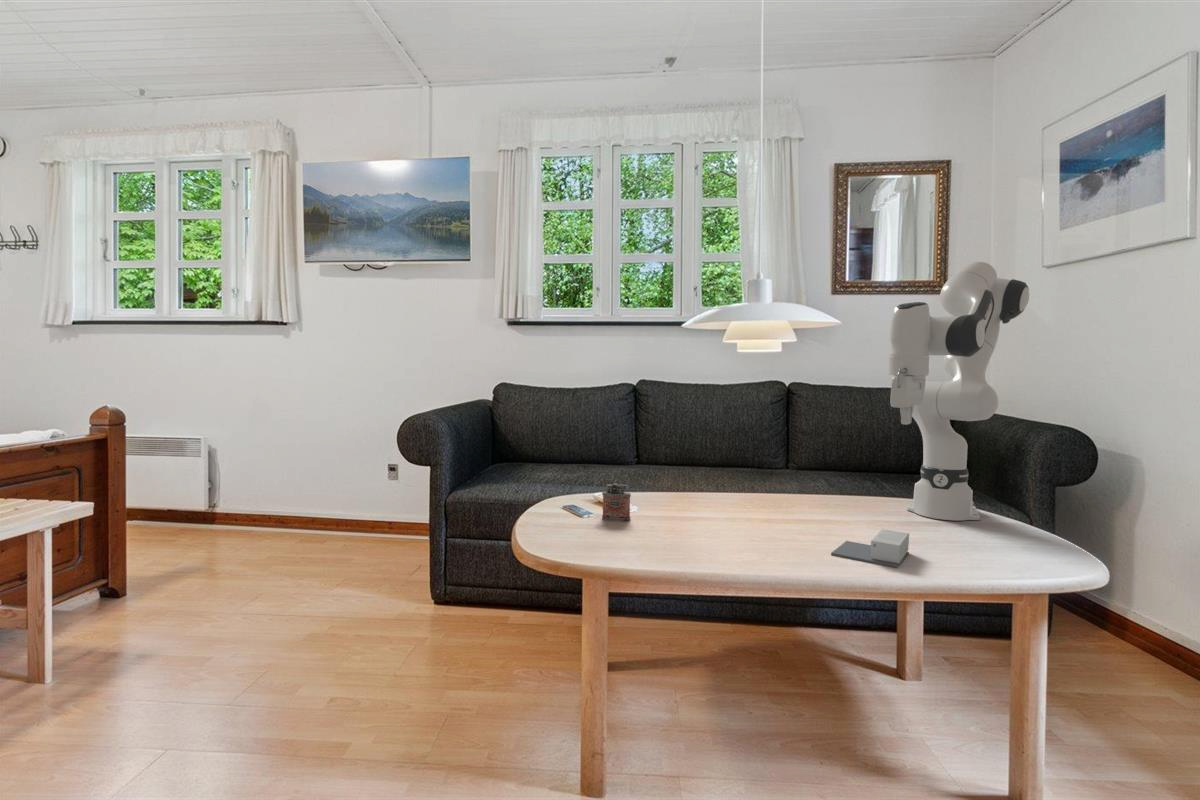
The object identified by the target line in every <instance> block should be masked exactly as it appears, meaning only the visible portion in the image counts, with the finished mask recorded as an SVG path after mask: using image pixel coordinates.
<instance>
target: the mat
mask: <svg viewBox="0 0 1200 800" xmlns="http://www.w3.org/2000/svg"><path fill="white" fill-rule="evenodd" d="M830 555H831V556H834V555H835V557H839V556H840V558H844V557H845V559H849V558H850V559H851V560H854V559H855V561H859V562H864V561H865V563H869V562H870V564H875V565H880V564H881V566H885V565H886V567H890V566H891V568H896V569H898V568H899V567H900V565H901V564H903V563H904V561H905V560H906V558H907V557H908V556H909V555H910V551H907V553H906V554H905V556H904V557H903V559H902V560H901V562H900V563H899V564H898V563H893V562H887V561H881V560H875V559H871V544H867V543H860V542H854V541H849V540H845V542H843V543H842V544H840V545H839V546H838V547H837V548H835V549H834V550H833V551H832V552H831V553H830ZM904 559H905V560H904ZM898 566H899V567H898Z"/></svg>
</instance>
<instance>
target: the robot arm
mask: <svg viewBox="0 0 1200 800" xmlns="http://www.w3.org/2000/svg"><path fill="white" fill-rule="evenodd" d="M939 300H940V304H941V306H942V307H943V309H944V310H945V311H946V312H947V313H948V314H949V315H951V316H934V317H933V316H932V315H931V313H930V307H929V303H926V302H923V301H922V302H921V301H917V302H916V301H915V302H907V303H901V304H897V306H895V307H894V308H893V311H892V316H891V321H890V333H889V340H890V341H889V342H890V345H891V346H890V347H891V348H890V352H889V358H888V359H889V360H888V375H890V376H893V377H892V379H891V386H890V397H889V399H890V400H889V401H890V407H891V408H899V413H900V423H901V425H906V426H907V425H910V424H912V418H913V420H914V421H915V422H916V424H917V426H918V428H919V431H920V433H921V434H920V435H921V437H922V438H921V439H922V445H923V446H922V449H923V451H922V454H923V455H922V456H923V457H922V458H923V459H922V464H921V467H920V477H921V478H920V480H918V481H917V482H915V483H914V490H913V500H912V501H913V502H912V504H910V505H907V506H906V511H909V512H911V513H912V512H913V513H915V514H916V515H919V516H921V517H922V516H923V517H925V518H926V517H927V518H929V519H936V520H941V521H942V520H944V521H956V522H957V521H958V522H960V521H980V520H981V515H980V514H979V511H978V509H977V508H976V506H975V502H974V501H973V493H974V492H973V489H972V488H971V487H970V485H968V481H969V469H968V468H967V464H968V462H967V461H968V448H969V446H968V443H967V440H966V438H964V436H963V435H961V434H959V432H958V433H957V432H956V431H955V430H954V428H953V427H952V425H951V420H952V421H962V422H963V421H965V422H975V421H976V422H977V421H986V420H988V419H990V418H991V417H993V415H994V414H995V413H996V411H997V409H998V405H999V397H998V395H997V392H996V391H995V389H994V388H993V387H992V386H991V385H989V383H987V381H986V371H987V368H988V365H989V363H990V359H991V357H992V356H993V353H994V350H995V348H996V346H997V343H998V339H999V335H1000V329H1001V328H1000V327H1001V326H1000V324H1001V323H1002V324H1008V323H1009V322H1010V321H1011V320H1013V319H1015V318H1017V317H1019V316H1020V315H1021V314H1022V313H1023V312H1024V311H1025V309H1026V307H1027V305H1028V304H1029V300H1030V290H1029V286H1028V284H1027V283H1026V282H1024V281H1022V280H1019V279H1018V280H1017V279H1014V278H1013V279H1006V278H1000V277H998V274H997V271H996V269H995V268H994V267H993V266H992V265H991V264H989V263H987V262H984V261H975V262H971V263H968V264H966V265H965V266H963V267H961V268H960V269H959V270H957V271H956V272H954V274H953V275H952V276H951V277H949V278H948V280H947V281H946V282H945V283H944V284H943V286H942V288H941V291H940V294H939ZM930 356H944V357H943V363H942V364H943V367H944V370H945V371H946V372H947V373H948V374H949V375H950V376H952V377H953V378H952V379H951V380H947V381H945V380H943V381H941V380H927V377H926V376H929V373H930V368H929V367H930Z"/></svg>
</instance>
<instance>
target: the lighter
mask: <svg viewBox="0 0 1200 800" xmlns="http://www.w3.org/2000/svg"><path fill="white" fill-rule="evenodd" d="M628 490H629V485H628V484H618V483H613V484H606V491H602V494H601V495H602V515H601V519H602V520H604V521H605V520H606V521H610V522H611V521H612V522H625V523H626V522H630V521H631V515H630V514H631V496H632V495H631V493H630V492H626V491H628Z"/></svg>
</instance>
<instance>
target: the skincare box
mask: <svg viewBox="0 0 1200 800" xmlns="http://www.w3.org/2000/svg"><path fill="white" fill-rule="evenodd" d="M909 542H910V533H909V532H904V531H897V530H892V529H891V530H890V529H884V528H882V529H880V531H879V532H878V533H877V534H876V535H875V536H874V537H873V538H872V540H871V541H870V545H871V559H875V560H881V561H887V562H893V563H898V564H899V563H900V562H901V560H902V559H903V557H904V556H905V554H906V553H907V552H909V551H908V550H909V544H910V543H909Z"/></svg>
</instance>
